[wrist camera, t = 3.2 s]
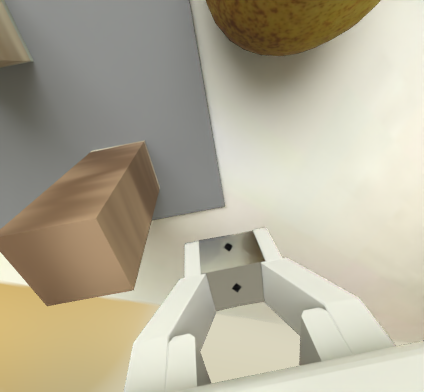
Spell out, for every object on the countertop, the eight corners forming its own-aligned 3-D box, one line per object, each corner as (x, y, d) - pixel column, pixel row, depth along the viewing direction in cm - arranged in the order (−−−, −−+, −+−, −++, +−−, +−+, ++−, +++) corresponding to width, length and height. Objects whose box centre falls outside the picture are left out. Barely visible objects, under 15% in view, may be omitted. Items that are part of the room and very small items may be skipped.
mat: (173, -89, 12) (172, -94, 11) (224, 204, 21) (224, 206, 20) (-198, -10, 12) (-209, -12, 12) (9, 244, 21) (6, 247, 21)
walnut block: (144, 140, 17) (95, 218, 8) (160, 187, 19) (133, 290, 10) (91, 150, 17) (-11, 238, 8) (112, 196, 19) (46, 306, 10)
